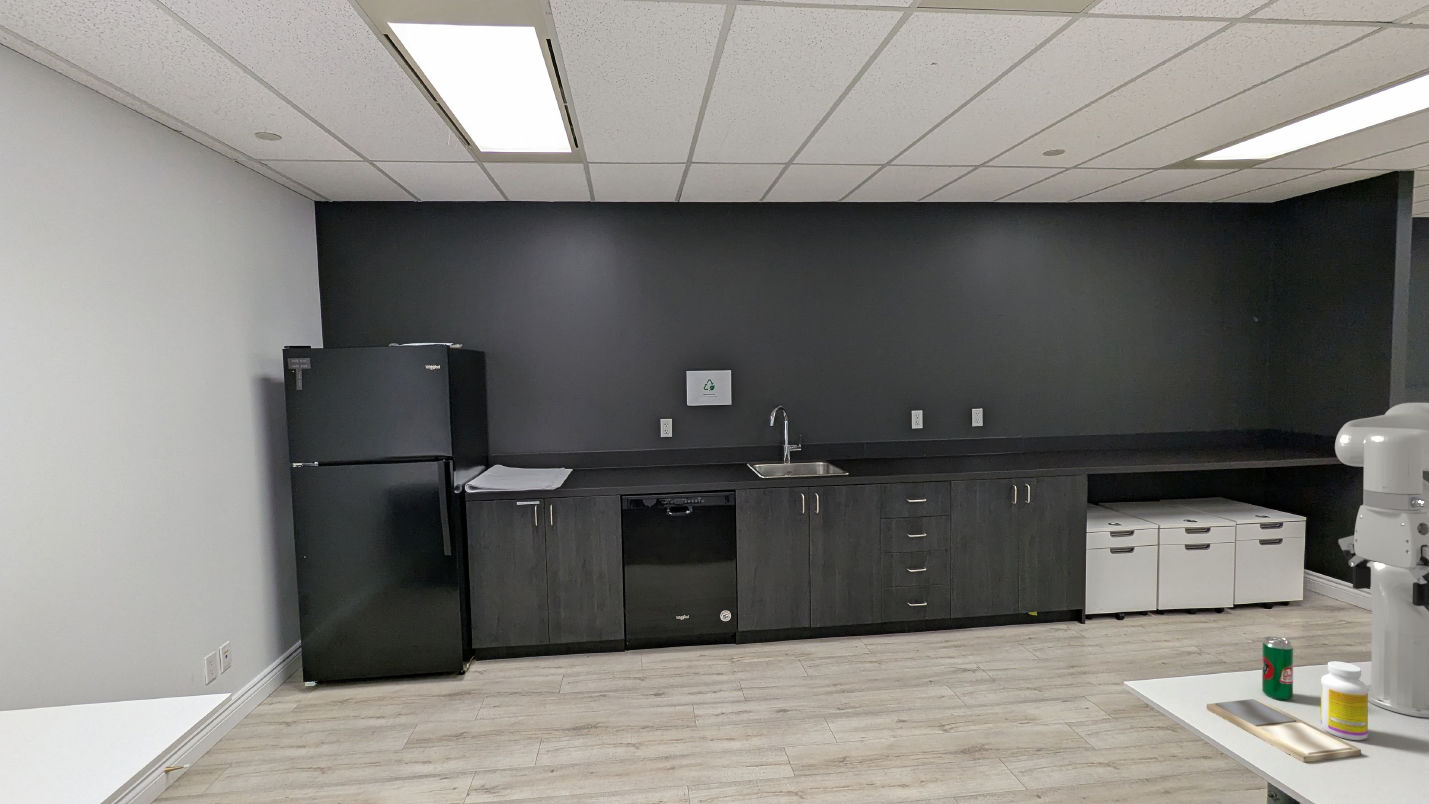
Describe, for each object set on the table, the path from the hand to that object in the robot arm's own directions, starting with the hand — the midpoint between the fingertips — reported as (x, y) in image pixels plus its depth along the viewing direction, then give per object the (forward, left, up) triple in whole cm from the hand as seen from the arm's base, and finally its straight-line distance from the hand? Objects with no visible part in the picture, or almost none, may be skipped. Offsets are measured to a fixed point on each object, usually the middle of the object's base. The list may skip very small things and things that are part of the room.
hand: (1390, 596), depth 124 cm
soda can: (-1, -22, -28) cm, 36 cm away
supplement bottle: (+1, -7, -28) cm, 29 cm away
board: (+12, -10, -28) cm, 32 cm away
